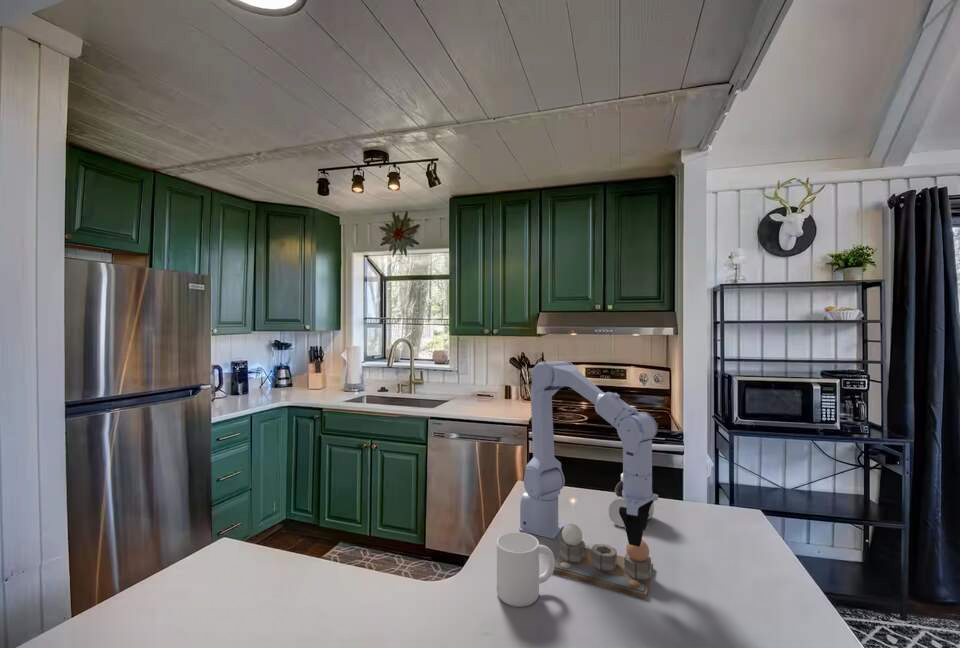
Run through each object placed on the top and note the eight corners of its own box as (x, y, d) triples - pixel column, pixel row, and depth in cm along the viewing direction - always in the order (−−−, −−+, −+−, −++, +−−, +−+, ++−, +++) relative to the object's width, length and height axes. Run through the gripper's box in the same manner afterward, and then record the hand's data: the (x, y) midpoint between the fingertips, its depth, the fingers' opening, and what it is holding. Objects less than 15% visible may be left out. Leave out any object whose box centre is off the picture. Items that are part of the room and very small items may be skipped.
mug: (546, 577, 90) (546, 527, 90) (564, 601, 82) (563, 547, 82) (491, 585, 87) (491, 534, 87) (504, 611, 79) (504, 555, 79)
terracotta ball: (624, 563, 89) (624, 541, 89) (628, 552, 93) (628, 532, 93) (647, 568, 87) (647, 546, 87) (650, 558, 91) (650, 536, 91)
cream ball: (559, 546, 95) (559, 526, 95) (565, 538, 99) (565, 518, 99) (579, 551, 93) (579, 531, 93) (584, 542, 97) (584, 522, 97)
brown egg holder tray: (551, 572, 91) (551, 553, 91) (567, 547, 102) (567, 530, 102) (646, 599, 82) (646, 578, 82) (653, 568, 93) (653, 550, 93)
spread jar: (651, 514, 120) (650, 472, 120) (658, 533, 109) (658, 487, 109) (606, 510, 123) (606, 469, 123) (609, 528, 112) (609, 483, 112)
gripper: (653, 486, 82) (653, 557, 81) (661, 464, 94) (661, 526, 94) (615, 480, 85) (615, 548, 85) (627, 460, 98) (627, 519, 98)
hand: (637, 536), depth 90 cm, fingers open, 7 cm apart
